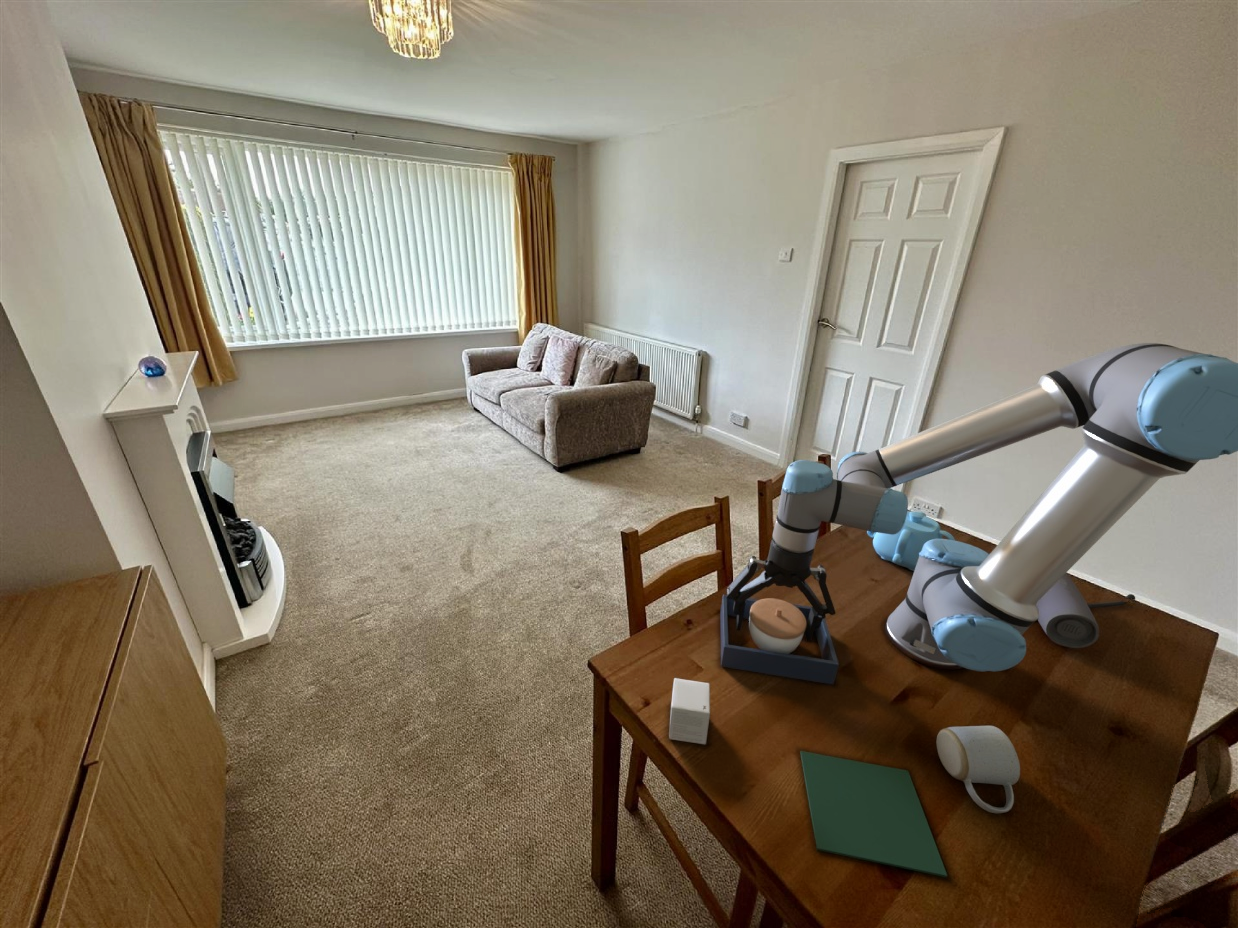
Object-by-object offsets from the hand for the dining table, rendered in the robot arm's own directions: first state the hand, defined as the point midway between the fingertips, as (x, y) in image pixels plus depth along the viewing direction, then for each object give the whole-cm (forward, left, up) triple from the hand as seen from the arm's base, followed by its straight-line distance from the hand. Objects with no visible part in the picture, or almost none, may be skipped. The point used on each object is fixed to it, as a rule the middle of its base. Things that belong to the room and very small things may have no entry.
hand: (772, 631), depth 97 cm
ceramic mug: (-28, +22, -4) cm, 36 cm away
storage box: (0, 0, -4) cm, 4 cm away
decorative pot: (-39, -40, -4) cm, 56 cm away
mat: (-10, +30, -4) cm, 32 cm away
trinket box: (0, 0, -4) cm, 4 cm away
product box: (+16, +22, -4) cm, 27 cm away
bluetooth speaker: (-62, -22, -4) cm, 66 cm away
